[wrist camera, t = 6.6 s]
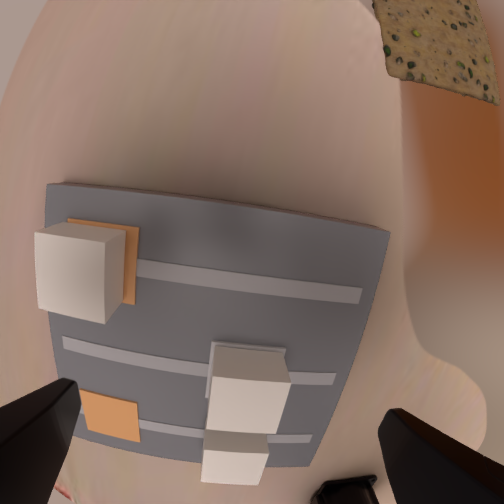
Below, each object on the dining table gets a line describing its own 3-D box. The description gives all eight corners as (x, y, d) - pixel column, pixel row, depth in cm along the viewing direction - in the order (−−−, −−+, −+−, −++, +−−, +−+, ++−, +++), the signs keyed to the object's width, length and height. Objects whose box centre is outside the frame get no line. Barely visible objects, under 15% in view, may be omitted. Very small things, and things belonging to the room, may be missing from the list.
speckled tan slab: (499, 108, 17) (506, 107, 17) (383, 79, 17) (390, 75, 16) (472, -6, 15) (477, -9, 14) (358, -47, 14) (361, -53, 13)
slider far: (264, 422, 19) (269, 453, 16) (254, 455, 20) (258, 485, 17) (206, 417, 19) (203, 449, 16) (202, 451, 20) (200, 481, 17)
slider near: (126, 230, 15) (105, 242, 13) (123, 300, 16) (104, 324, 13) (63, 221, 15) (34, 231, 12) (63, 288, 16) (38, 308, 13)
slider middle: (282, 352, 18) (291, 382, 15) (269, 402, 19) (275, 433, 16) (214, 345, 17) (212, 376, 14) (208, 396, 18) (206, 429, 15)
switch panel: (375, 226, 19) (391, 233, 17) (304, 450, 23) (309, 468, 21) (62, 182, 17) (45, 184, 14) (80, 421, 21) (72, 437, 19)
